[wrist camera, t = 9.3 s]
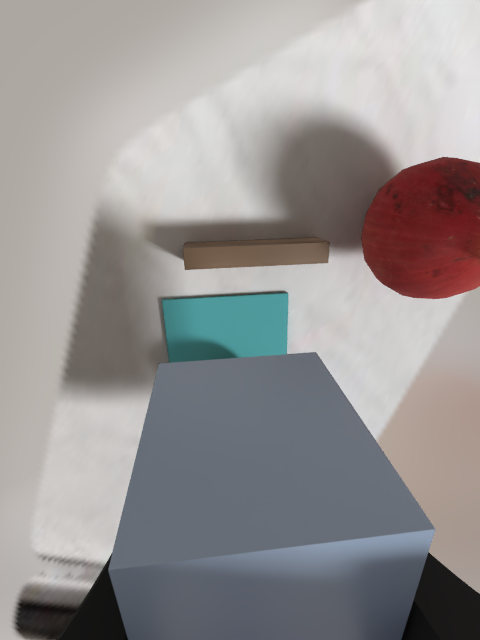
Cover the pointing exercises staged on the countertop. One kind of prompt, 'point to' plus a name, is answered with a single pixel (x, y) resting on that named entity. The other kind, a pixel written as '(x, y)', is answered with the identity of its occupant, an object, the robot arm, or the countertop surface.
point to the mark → (226, 326)
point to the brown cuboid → (255, 253)
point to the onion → (426, 230)
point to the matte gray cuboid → (263, 511)
